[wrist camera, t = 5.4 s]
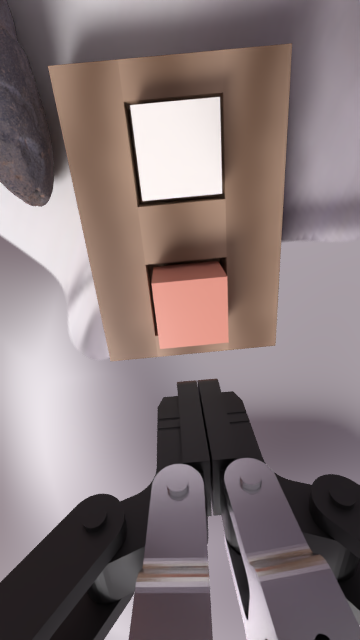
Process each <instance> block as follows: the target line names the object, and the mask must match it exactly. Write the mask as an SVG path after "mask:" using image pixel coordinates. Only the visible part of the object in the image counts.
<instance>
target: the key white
mask: <svg viewBox="0 0 360 640" xmlns="http://www.w3.org/2000/svg"><path fill="white" fill-rule="evenodd" d="M130 108H131V116H132V124H133V132H134V140H135V148H136V155H137V163H138V171H139V179H140V187H141V194H142V201H149V200H159V199H170V198H181V197H191V196H202V195H213V194H222V163H221V121H220V97H213V98H202V99H191V100H180V101H169V102H159V103H148V104H137V105H130Z"/></svg>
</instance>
